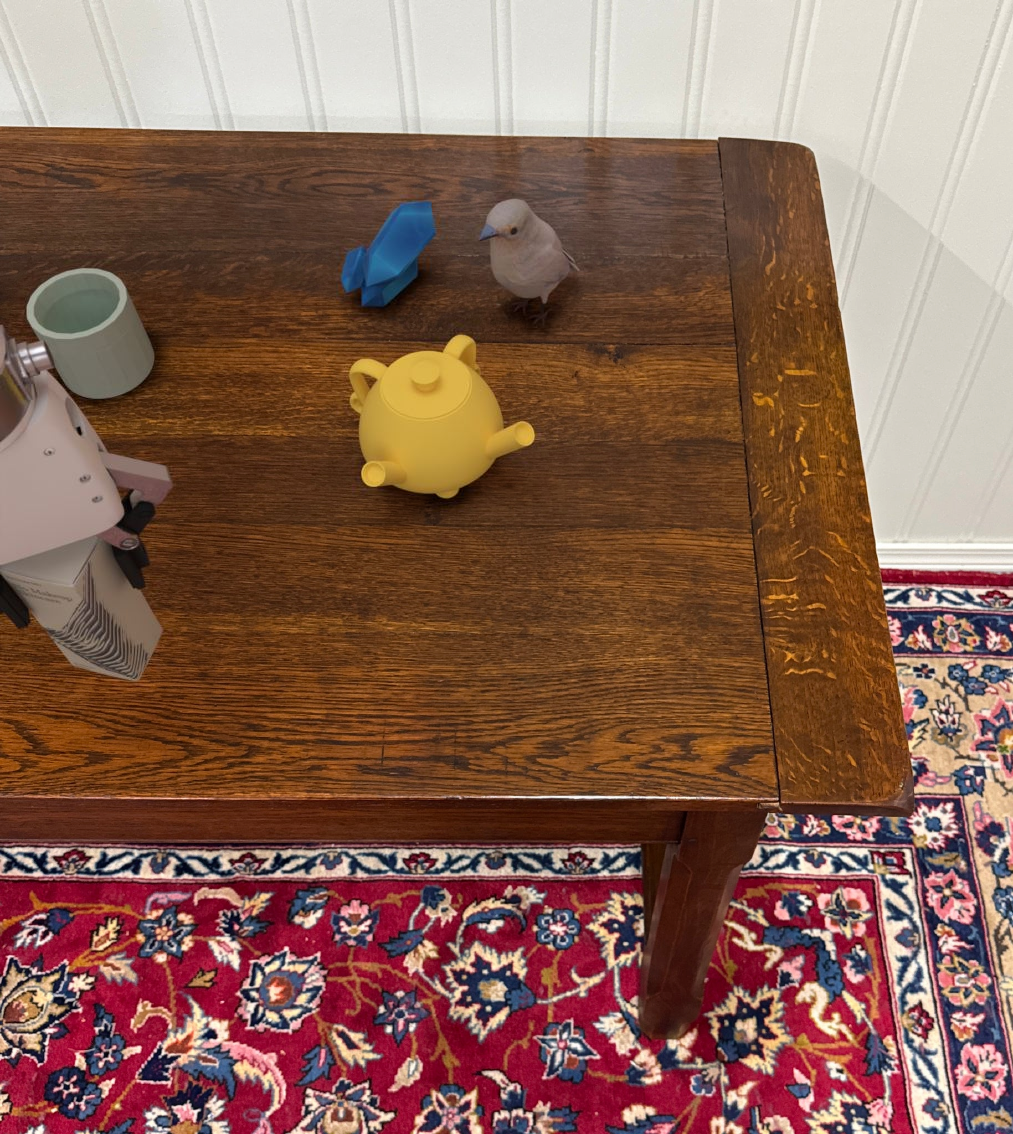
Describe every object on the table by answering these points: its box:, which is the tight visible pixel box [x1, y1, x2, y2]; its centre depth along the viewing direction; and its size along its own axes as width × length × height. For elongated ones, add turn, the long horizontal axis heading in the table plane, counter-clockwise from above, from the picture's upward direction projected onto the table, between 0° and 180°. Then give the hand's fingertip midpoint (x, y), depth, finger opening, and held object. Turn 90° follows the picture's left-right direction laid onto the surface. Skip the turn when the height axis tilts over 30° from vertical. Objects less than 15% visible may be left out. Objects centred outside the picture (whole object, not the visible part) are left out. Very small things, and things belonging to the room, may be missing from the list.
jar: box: [26, 267, 155, 400], centre depth 92 cm, size 9×9×8 cm
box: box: [0, 535, 164, 682], centre depth 62 cm, size 5×4×13 cm
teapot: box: [348, 334, 536, 499], centre depth 84 cm, size 14×14×11 cm
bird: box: [477, 198, 581, 329], centre depth 92 cm, size 5×14×15 cm, turn 137°
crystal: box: [340, 200, 437, 307], centre depth 97 cm, size 7×9×12 cm
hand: (78, 588), depth 61 cm, fingers closed on box, 6 cm apart
